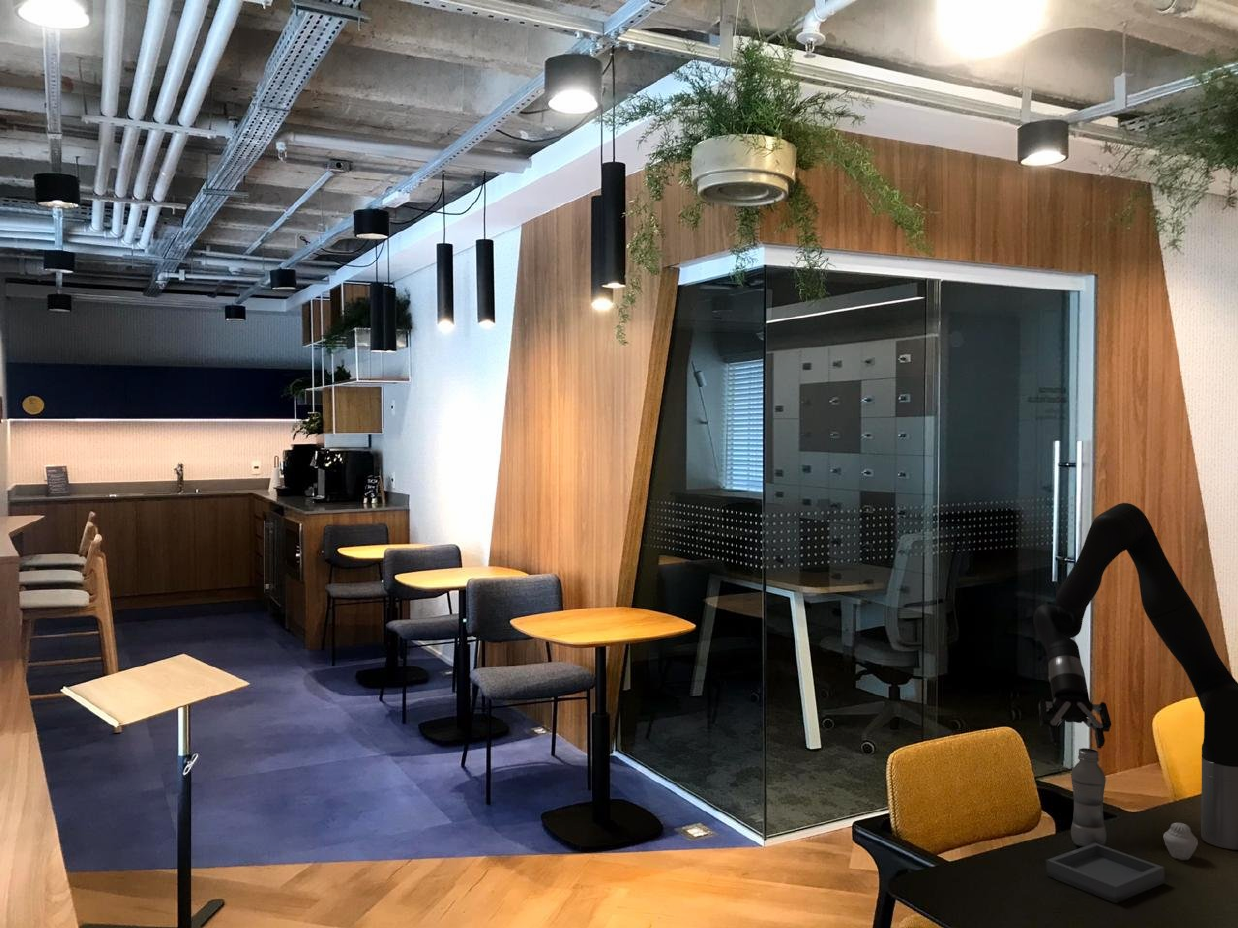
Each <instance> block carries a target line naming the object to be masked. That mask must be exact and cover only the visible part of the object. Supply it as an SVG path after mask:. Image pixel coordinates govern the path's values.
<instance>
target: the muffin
mask: <svg viewBox="0 0 1238 928" xmlns="http://www.w3.org/2000/svg"><path fill="white" fill-rule="evenodd" d="M1162 836H1163V840H1164V844H1165V846H1166V848H1167V850H1168V852H1169V854H1170V856H1171V857H1172V858H1174V859H1175V860H1180V861H1181V860H1182V861H1188V860H1189V859H1191V857H1192V856H1193V854H1194V853H1195V851H1196V850H1197V847H1198V845H1199V841H1198V838H1197V837H1195V835H1194V834H1193V832H1192V830H1191V828H1190V826H1189V825H1188V824H1185V823H1182V822H1174V823H1172V824H1171V825H1170V827H1169V829H1168V830H1166V832H1164V833H1163V835H1162Z"/></svg>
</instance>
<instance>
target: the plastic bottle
mask: <svg viewBox="0 0 1238 928" xmlns="http://www.w3.org/2000/svg"><path fill="white" fill-rule="evenodd" d="M1099 754H1100V753H1099V751H1098V750H1096V749H1093V748H1086V747H1085V748H1084V747H1083V748H1079V749H1078V757H1077V758H1078V760H1079V761H1077V763H1076V764H1075V765H1074V767H1073V768H1071V769H1072V770H1071V772H1070V779H1071V785H1072V791H1073V792H1072V793H1073V794H1072V795H1073V816H1072V823H1071V827H1070V835H1071V839H1072V841H1073V843H1074V844H1075V845H1076V846H1078V847H1080V848H1082V847H1084V846H1087V845H1090V844H1093V843H1097V844H1100V845H1103V846H1105V845H1106V841H1107V831H1106V827H1105V822H1104V821H1105V820H1104V812H1103V811H1104V809H1103V807H1104V805H1103V804H1104V793H1105V787H1106V779H1107V778H1106V775H1105V772H1104V771H1103V769H1102V767H1101V766H1100V764H1099V763H1098V762H1100V758H1099Z"/></svg>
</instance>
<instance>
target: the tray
mask: <svg viewBox="0 0 1238 928" xmlns="http://www.w3.org/2000/svg"><path fill="white" fill-rule="evenodd" d="M1045 862H1046V865H1045V866H1046V867H1045V870H1046V873H1045V876H1047V877H1049V878H1052V879H1055V880H1057V881H1058V882H1062V883H1064V884H1065V885H1066V884H1067V885H1069V886H1071V887H1073V888H1076V889H1079V890H1081V891H1083V892H1087V893H1089V894H1091V895H1094V896H1096V897H1099V898H1102V899H1103V900H1106V901H1108V902H1110V903H1113V904H1118V903H1120V902H1122V901H1125V900H1127V899H1130V898H1132V897H1135V896H1137V895H1140V894H1141V893H1144V892H1146V891H1149V890H1151V889H1154V888H1157V887H1158V886H1161V885H1163V884H1165V867H1164V866H1162V865H1159V864H1156V863H1153V862H1150V861H1147V860H1144V859H1141V858H1140V857H1137V856H1133V855H1130V854H1129V853H1128V854H1127V853H1126V852H1122V851H1119V850H1117V849H1114V848H1111V847H1109V846H1105V845H1104V846H1103V845H1100V844H1097V843H1093V844H1090V845H1087V846H1084V847H1080V848H1077V849H1074V850H1071V851H1068V852H1065V853H1062V854H1060V855H1056V856H1054V857H1051V858H1049V859H1046V861H1045Z"/></svg>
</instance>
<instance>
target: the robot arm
mask: <svg viewBox="0 0 1238 928" xmlns="http://www.w3.org/2000/svg"><path fill="white" fill-rule="evenodd" d="M1145 514H1146V513H1144V512H1143V511H1142V510H1141V509H1140V508H1139V507H1137V506H1136V505H1135V504H1132V503H1128V502H1121V503H1118V504H1116V505H1114V506H1112V507H1110V508H1109V509H1107V510H1105V511H1103V512H1101V513H1100V514H1099V515H1097V516H1096V517H1095V518H1094V519H1093V521H1092V522H1091V525H1090V527H1089V530H1088V533H1087V534H1086V538H1085V541H1084V543H1083V546H1082V549H1081V551H1080V554H1078V558H1077V559H1076V562H1075V563H1074V565H1073V567H1072V568H1071V570H1070V572H1069V574H1068V575H1067V576H1066V577H1065V579H1064V581H1063V582H1062V584H1061V586H1060V588H1059V589H1058V591H1057V592H1056V595H1055V602H1056V605H1053V604H1040V606H1038V607H1037V608H1036V610H1035V611H1034V613H1033V618H1032V619H1033V626H1034V629H1035V631H1036V634H1037V636H1038V638H1039V640H1040V642H1041V644H1042V645H1043V647H1044V650H1045V651H1046V657H1047V664H1048V681H1049V683H1050V684H1049V686H1050V690H1051V692H1050V693H1051V697H1052V701H1047V700H1046V699H1044V698H1041V699H1040V700H1039V703H1038V717H1039V720H1038V721H1039V727H1041V728H1042V729H1044V728H1046V729H1048V730H1049V734H1050V741H1051V743H1053V744H1054V746H1058V747H1059V746H1060V742H1061V739H1060V733H1059V732H1060V731H1059V725H1060V724H1062V722H1063V721H1065V722H1066V723H1077V724H1082V723H1083V724H1085V725H1086V726H1087V727H1088V728H1090V729H1091V730H1093V732H1094V738H1095V743H1096V748H1097V749H1099V750H1100V749H1102V748H1103V747H1104V746H1105V742H1106V738H1105V734H1104V732H1107V733H1108V732H1110V729H1111V727H1112V720H1111V717H1110V713H1109V709H1108V707H1107V706H1108V705H1107V703H1106V702H1104V701H1101V702H1100V703H1099V704H1098V703H1096V704H1095V703H1094V704H1093V703H1092V702H1091V700H1090V697H1089V695H1090V694H1089V690H1088V685H1087V679H1086V674H1085V669H1084V667H1083V664H1082V660H1081V654H1080V648H1079V645H1078V644H1077V642H1076V641H1075V640H1074V639H1073V638H1075V637H1076V636H1078V635H1080V633H1081V631H1082V628H1083V627H1082V626H1083V622H1084V618H1085V614H1086V610H1087V608H1088V606H1089V605H1090V604H1091V601H1092V600H1093V599H1094V598H1095V596H1096V594H1097V592H1098V590H1099V589H1100V587H1101V583H1102V581H1103V580H1102V579H1103V575H1104V573H1105V571H1106V569H1107V567H1108V566H1109V565H1110V564H1111V563H1112V562H1114V560H1115V559H1116V558H1117V557H1118V556H1119V555H1120V554H1122V552H1125V551H1127V553H1128V555H1129V557H1130V558H1131V560H1132V562H1133V564H1134V566H1135V570H1136V572H1137V575H1138V576H1137V577H1138V584H1139V591H1140V599H1141V605H1142V608H1143V610H1144V613H1145V614H1146V616H1147V617H1148V618H1147V619H1148V620H1149V621H1150V623H1151V625H1152V626H1153V628H1154V630H1155V632H1156V633H1157V635H1158V636H1159V639H1160V640H1162V642H1163V643H1164V645H1165V647H1167V649H1168V651H1170V653H1171V654H1172V655H1173V657H1175V659H1176V661H1178V663H1179V664H1180V665H1181V667H1182V668H1183V670H1184V672H1185V674H1186V676H1187V677H1188V679H1189V681H1190V683H1191V684H1190V685H1192V688H1193V689H1194V692H1195V694H1196V697H1197V700H1198V701H1199V705H1200V708H1201V709H1202V712H1203V715H1204V718H1203V719H1204V720H1203V721H1204V722H1203V723H1204V724H1203V740H1202V741H1203V742H1202V745H1201V797H1200V798H1201V800H1200V801H1201V805H1200V806H1201V810H1200V811H1201V813H1200V814H1201V818H1200V820H1201V821H1200V828H1201V829H1200V837H1201V839H1202V841H1204V842H1206V843H1207V844H1209V845H1212V846H1215V847H1218V848H1223V849H1228V850H1234V851H1235V850H1237V851H1238V681H1237V680H1236V679H1235V678H1234V676H1233V675H1232V673H1231V672H1230V671H1229V669H1228V668H1227V667H1226V665H1225V664H1224V663H1223V661H1222V659H1221V658H1220V656H1219V654H1218V652H1217V650H1216V648H1215V645H1214V642H1213V640H1212V638H1211V635H1210V633H1209V629H1208V628H1207V626H1206V624H1205V622H1204V620H1203V618H1202V616H1201V613H1200V612H1199V610H1198V608H1197V607H1196V605H1195V603H1194V601H1192V598H1191V597H1190V595H1189V593H1188V592H1187V591H1186V589H1185V588H1184V586H1183V584H1182V583H1181V581H1180V580H1179V578H1178V576H1177V574H1176V573H1175V570H1174V569H1173V567H1172V565H1171V564H1170V562H1169V560H1168V558H1167V556H1166V555H1165V553H1164V550H1163V548H1162V546H1161V544H1160V542H1159V540H1158V537H1157V536H1156V533H1155V531H1154V529H1153V528H1154V527H1153V526H1152V524H1151V522H1150V520H1149V519H1148V517H1147V516H1146V515H1145ZM1057 605H1058V606H1057ZM1050 709H1052V710H1053V712H1055V714H1054V716H1053V718H1052V719H1051V720H1050V719H1048V715H1047V714H1048V713H1047V712H1049V710H1050ZM1093 711H1095V713H1096V715H1098V716H1099V718H1100V720H1098V719H1097V717H1096V715H1095V714H1094V713H1093Z"/></svg>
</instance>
